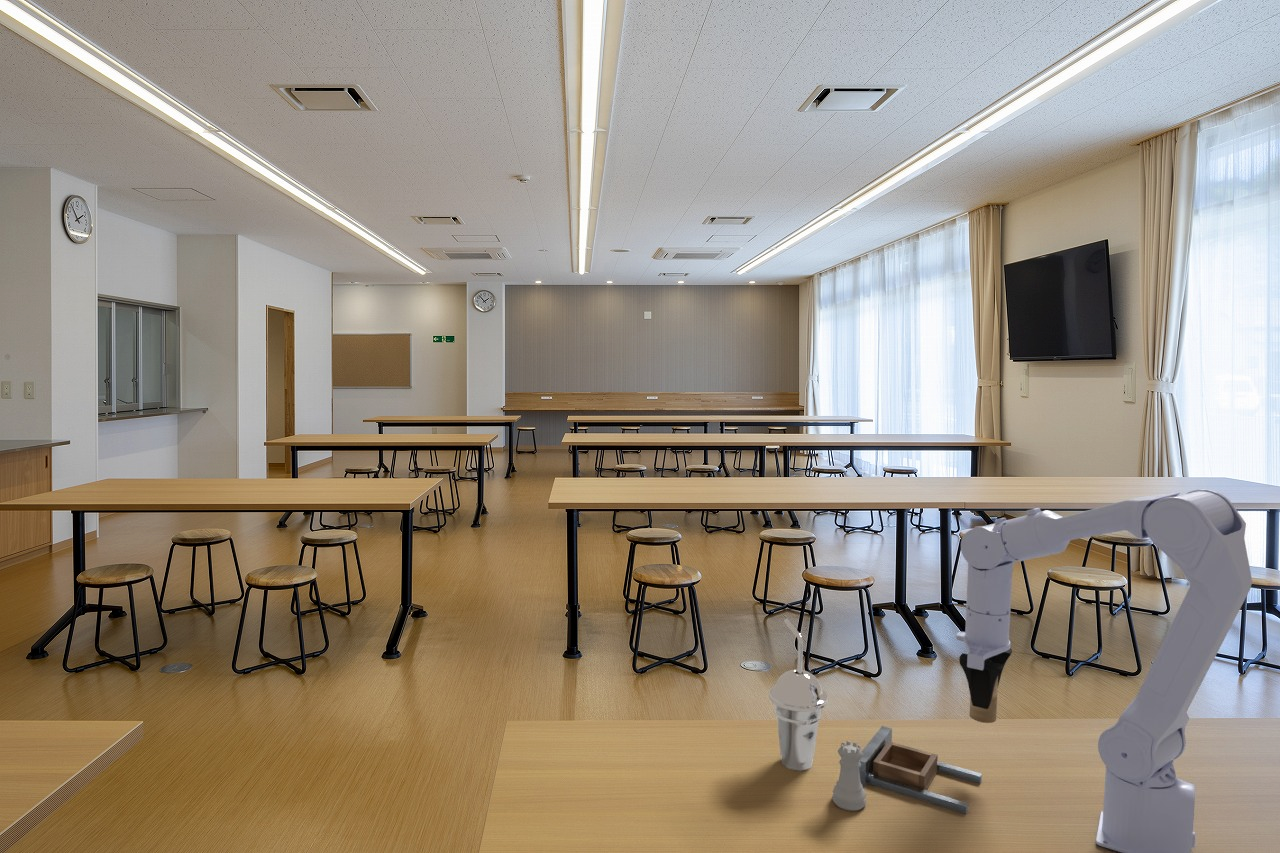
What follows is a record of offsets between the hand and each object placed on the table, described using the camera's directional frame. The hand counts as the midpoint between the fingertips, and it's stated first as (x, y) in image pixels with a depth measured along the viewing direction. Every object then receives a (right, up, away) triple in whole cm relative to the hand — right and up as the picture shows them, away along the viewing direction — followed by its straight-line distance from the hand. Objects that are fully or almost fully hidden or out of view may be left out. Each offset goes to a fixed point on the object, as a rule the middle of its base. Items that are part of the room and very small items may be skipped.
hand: (983, 701), depth 113 cm
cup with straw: (-26, -10, +3) cm, 28 cm away
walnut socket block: (-11, -10, -1) cm, 15 cm away
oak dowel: (0, -2, 0) cm, 2 cm away
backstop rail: (-10, -10, -2) cm, 14 cm away
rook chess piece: (-21, -11, -7) cm, 25 cm away
